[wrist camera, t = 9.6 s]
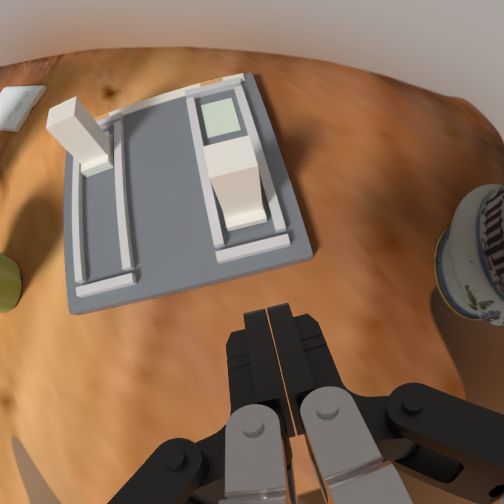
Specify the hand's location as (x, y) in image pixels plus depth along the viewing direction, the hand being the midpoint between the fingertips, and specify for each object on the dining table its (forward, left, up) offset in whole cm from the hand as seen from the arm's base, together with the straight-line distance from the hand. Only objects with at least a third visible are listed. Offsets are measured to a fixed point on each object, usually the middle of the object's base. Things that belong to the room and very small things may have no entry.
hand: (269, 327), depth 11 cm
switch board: (-6, +16, -15) cm, 23 cm away
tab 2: (0, +11, -14) cm, 17 cm away
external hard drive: (-31, +39, -16) cm, 53 cm away
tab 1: (-13, +20, -14) cm, 28 cm away
